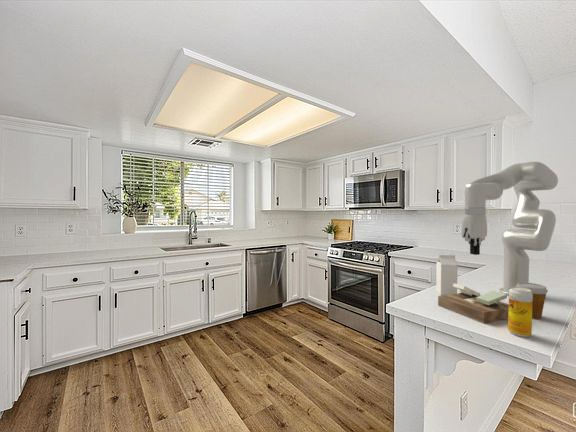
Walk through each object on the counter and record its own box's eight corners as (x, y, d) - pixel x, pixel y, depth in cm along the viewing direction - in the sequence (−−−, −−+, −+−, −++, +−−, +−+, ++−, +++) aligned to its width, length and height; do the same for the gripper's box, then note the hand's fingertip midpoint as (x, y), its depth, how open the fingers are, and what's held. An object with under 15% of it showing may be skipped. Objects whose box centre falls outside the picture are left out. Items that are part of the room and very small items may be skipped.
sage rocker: (494, 296, 116) (493, 290, 115) (507, 300, 111) (506, 294, 111) (476, 303, 112) (476, 297, 112) (489, 307, 108) (488, 301, 107)
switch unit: (468, 300, 128) (469, 290, 128) (517, 317, 109) (517, 304, 109) (438, 305, 122) (438, 294, 122) (483, 323, 103) (484, 310, 103)
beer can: (503, 330, 98) (504, 286, 97) (519, 329, 98) (521, 286, 98) (519, 338, 92) (520, 292, 91) (536, 337, 92) (537, 291, 92)
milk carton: (457, 296, 134) (457, 256, 133) (440, 295, 136) (441, 256, 135) (451, 292, 141) (452, 254, 140) (436, 291, 142) (436, 253, 142)
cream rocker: (467, 295, 126) (469, 290, 126) (478, 299, 121) (480, 293, 121) (452, 288, 123) (453, 283, 123) (462, 291, 118) (464, 286, 118)
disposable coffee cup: (515, 309, 117) (515, 280, 117) (546, 315, 111) (547, 284, 111) (514, 316, 110) (515, 285, 110) (547, 322, 104) (549, 290, 104)
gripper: (479, 211, 129) (478, 251, 130) (454, 212, 124) (454, 254, 125) (496, 211, 122) (495, 254, 123) (470, 212, 117) (470, 257, 118)
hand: (474, 254), depth 124 cm, fingers closed
